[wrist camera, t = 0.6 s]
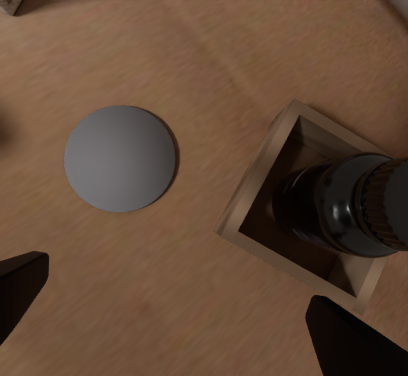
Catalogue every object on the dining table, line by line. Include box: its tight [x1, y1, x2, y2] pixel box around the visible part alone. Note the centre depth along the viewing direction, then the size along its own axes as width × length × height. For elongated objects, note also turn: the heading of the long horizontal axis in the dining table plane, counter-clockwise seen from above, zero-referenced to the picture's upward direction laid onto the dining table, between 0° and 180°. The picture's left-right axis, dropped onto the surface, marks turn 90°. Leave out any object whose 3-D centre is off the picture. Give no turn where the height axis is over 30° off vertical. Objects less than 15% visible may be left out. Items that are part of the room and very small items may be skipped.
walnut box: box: [214, 99, 396, 316], centre depth 21 cm, size 13×13×4 cm
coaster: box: [64, 106, 175, 212], centre depth 21 cm, size 10×10×1 cm
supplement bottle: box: [272, 152, 408, 258], centre depth 17 cm, size 7×7×12 cm
